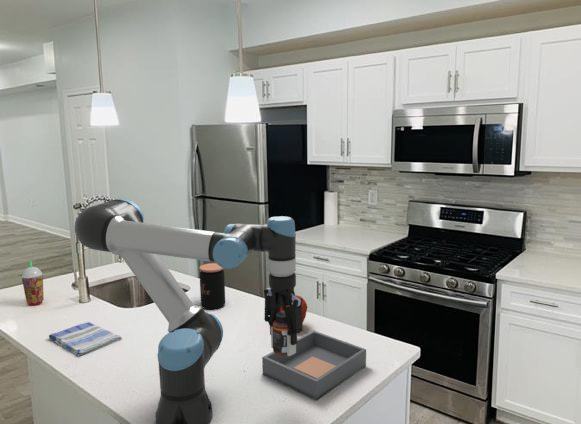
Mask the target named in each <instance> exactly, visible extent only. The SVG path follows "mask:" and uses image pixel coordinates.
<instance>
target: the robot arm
mask: <svg viewBox="0 0 581 424" xmlns="http://www.w3.org/2000/svg"><path fill="white" fill-rule="evenodd" d="M138 205H139V204H136V202H133V201H131V200H130V199H127V198H126V199H125V198H115V199H111V200H107V201H106V202H103V203H99V204H95V205H91V206H89V207H87V208H85V209H83V210H82V211H81V212H80V213H79V214H78V216H77V217H76V219H75V222H74V233H75V236H76V238H77V240H78V241H79V242H80V244H82V245H83V246H84V247H86V248H88V249H91V250H93V251H101V252H108V253H111V254H112V255H115V256H116V255H117V256H121V258H122V259H123V261H124V262H125V264H126V265H127V267H129V269H130V270H131V272H132V273H133V275H134V276H135V278H136V279H137V281H138V282H139V284H140V285H142V287H143V289H144V290H145V291H146V293H147V294H148V297H150V299H151V300H152V301H153V303H154V304H155V305H156V307H157V308H158V310H159V311H160V312H161V314H162V315H163V317H164V318H165V320H166V321H167V322H168V328H167V332H168V333H167V334H165V335H164V336H162V338H161V339H160V341H159V343H158V346H157V348H158V349H157V350H158V351H157V361H158V374H159V386H160V387H159V388H160V396H159V400H158V403H157V407H156V411H155V414H154V415H155V416H154V417H155V418H154V420H155V424H210V422H212V420H213V412H214V411H213V404H212V402H211V400H210V397H209V395H208V393H207V390H206V384H205V383H206V381H205V367H206V366H207V365H208V363H209V361H210V360H211V358H212V357H213V355H214V354H215V353H216V352H217V351H218V349H219V348H220V346H221V342H222V341H223V337H224V328H223V325H222V322H221V320H220V319H219V318H218V317H217V316H216V315H215V314H213V313H209V312H207V311H206V310H204V308H203V307H202V306H201V305H195V304H194V303H193V302H192V301H191V299H190V298H189V297H188V294H187V293H186V292H185V290H184V289H183V288H182V286H181V285H180V283H179V282H178V281H177V279H176V278H175V277H174V274H172V272H171V271H170V269H169V268H168V267H167V265H166V264H165V263H164V261H163V260H162V258H161V257H160V256H167V257H168V256H169V257H175V258H181V259H190V260H199V261H206V262H211V263H216V264H218V265H219V266H220V267H222V268H224V269H225V270H231V269H234V268H237V267H239V266H240V265H241V264H242V263H243V262H245V261H246V258H247V257H248V256H249V255H250V254H251V253H253V252H257V253H258V252H260V253H261V252H262V253H264V252H267V254H268V256H267V258H268V259H267V260H268V264H267V265H268V273H269V274H268V285H269V287H267V288H264V289H263V294H264V322H266V323H268V325H269V335H270V340H271V341H270V342H271V343H270V345H271V349H273V322H274V321H275V320H276V313H278V312H280V309H281V306H282V309H283V310H284V312H285V316H286V321H287V325H288V330H289V333H287V356H291V355H293V354H295V353H296V344H297V339H298V334H300V333H303V331H304V330H303V329H304V327H303V323H304V322H303V323H302V302H303V299H304V298H303V297H302V298H303V299H302V298H297V297H296V296H295V295H296V293H295V287H296V285H297V274H296V271H297V270H296V269H297V267H296V265H297V264H296V243H297V241H296V235H297V233H296V224H295V220H294V219H293V218H292V217H290V216H286V215H285V216H283V215H281V216H271V217H269V218H268V219H267V223H266V224H255V223H254V224H253V223H229V224H227V225H226V226H225V228H224V230H223V232H217V231H211V230H203V229H195V228H194V229H193V228H186V227H180V226H179V227H177V226H171V225H170V226H169V225H163V224H156V223H147V222H145V220H144V219H145V216H144V213H143V211H142V209H141V207H139V206H138ZM288 305H289V306H288ZM286 306H287V307H286Z"/></svg>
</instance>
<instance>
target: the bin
mask: <svg viewBox="0 0 581 424" xmlns="http://www.w3.org/2000/svg"><path fill="white" fill-rule="evenodd" d="M261 360H262V376H264V377H267V378H269V379H271V380H273V381H275V382H277V383H279V384H282V385H283V386H285V387H287V388H289V389H291V390H293V389H294V391H296V392H297V393H299V394H302V395H304V396H306V397H308V398H310V399H312V400H314V401H318V400H320V399H321V398H322V397H324V396H325V395H327V394H329V393H330V392H331V391H333V390H334V389H335V388H337V387H338V386H340V385H341V384H343V383H344V382H346V381H347V380H348V379H350V378H352V377H353V376H354V375H356V374H357V373H359V372H360V371H361V370H362V369H364V368H365V367H366V366H367V349H366V348H363V347H360V346H358V345H355V344H352V343H350V342H347V341H344V340H341V339H338V338H336V337H333V336H330V335H327V334H324V333H321V332H320V331H316V330H312V331H310V332H308V333H306V334H304V335H302V336H301V337H299V338H298V337H297V344H296V353H295V354H293V355H291V356H287V355H278V354H275V353H274V352H273V351H272V352H270V353H268V354H265V355H263V356H262V359H261Z"/></svg>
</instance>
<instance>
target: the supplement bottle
mask: <svg viewBox="0 0 581 424" xmlns="http://www.w3.org/2000/svg"><path fill="white" fill-rule="evenodd" d="M287 333H289V330H288V325H287V321H286V316H285V312H278V313H276V320H275V321H274V322H273V348H272V352H274V353H275V354H278V355H287Z"/></svg>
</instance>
